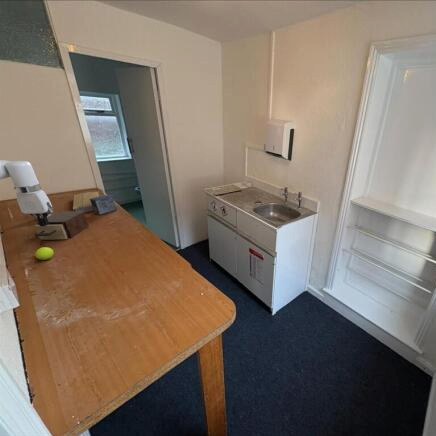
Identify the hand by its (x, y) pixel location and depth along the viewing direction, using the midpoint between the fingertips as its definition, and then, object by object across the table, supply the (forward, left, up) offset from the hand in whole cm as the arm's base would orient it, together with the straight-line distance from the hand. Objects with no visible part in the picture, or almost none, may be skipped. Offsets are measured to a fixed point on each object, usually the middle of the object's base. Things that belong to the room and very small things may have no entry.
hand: (44, 225), depth 113 cm
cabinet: (+5, +10, -10) cm, 15 cm away
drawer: (+3, +5, -9) cm, 11 cm away
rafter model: (+15, +57, -10) cm, 60 cm away
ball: (-1, -18, -10) cm, 20 cm away
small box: (+23, +34, -10) cm, 43 cm away
